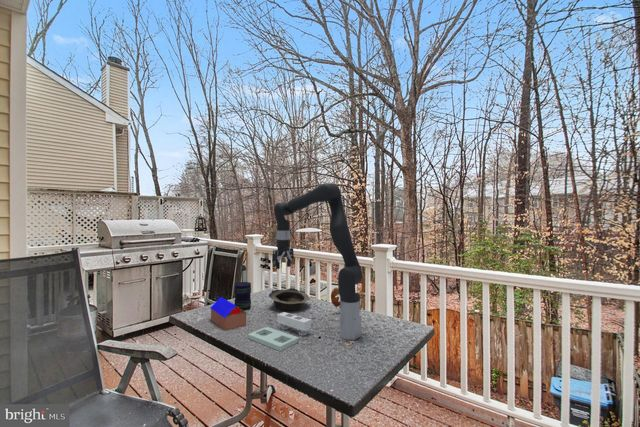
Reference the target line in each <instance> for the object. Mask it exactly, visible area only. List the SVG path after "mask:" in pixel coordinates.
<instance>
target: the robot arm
mask: <svg viewBox="0 0 640 427" xmlns="http://www.w3.org/2000/svg"><path fill="white" fill-rule="evenodd" d="M341 192H342V191H341V189H340V187H339V186H338V185H337V184H334V183H329V182H325V183H322V184H320V185H318V186H317V187H315V188H313V189H311V190H310V191H308V192H307V193H304V194H301V195H299V196H297V197H294V198H291V199H289V201H288V202H277V203H275V205H274V208H273V213H274V217H275V221H276V248H277V249H273V250H272V262H275V269H276V270H280V269H281V268H280V267H281V266H280V265H281V262H280V261H281V260H282V258H286V267H287V268H289V267H290V268H291V266H292V260H293V259H294V254H295V253H294V247H291V231H290V230H291V228H290V224H291V223H290V222H291V221H289V220H288V219H286V217H285V216H290V215H292V214H294V213H296V212H298V211H301V210H303V209H306V208H307V207H309V206H310V205H312V204H315V203H319V202H320V203H321V202H325V203H328V205H329V209H330V222H329V232H330V236H331V240H332V243H333V245H334V246H335V247H336V250H337V251H338V252H339V253H340V255H341V257H342V259H343V263H344V267H343V268H341V269H340V270H339V272H338V276H337V288H338V291H339V294H338V295H339V301H340V306H339V337H340V338H342V339H343V340H347V341H348V340H352V341H355V340H357V339H359V338H361V337H362V316H361V315H360V304H361V302H360V300H361V299H360V294H359V293H357V292H356V291H357V290H356V285H359V284H360V283H361V282H362V280H363V271H362V268H361V265H360V262H359V260H358V257H357V255H356V251H355V247H354V245H353V244H354V243H353V239H352V235H351V232H350V227H349V225H348V222H347V217H346V214H345V210H344V205H343V204H344V203H343V198H342V193H341Z"/></svg>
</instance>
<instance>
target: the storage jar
mask: <svg viewBox="0 0 640 427" xmlns="http://www.w3.org/2000/svg"><path fill="white" fill-rule="evenodd" d="M251 293H252V283H251V282H250V281H249V282H248V281H239V282H236V283H234V302H233V304H234V305H236V306H238V307H239V308H240V309H242V310H243V311H245V312H246V311H249V310H251V309H252V298H251Z"/></svg>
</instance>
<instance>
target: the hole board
mask: <svg viewBox="0 0 640 427" xmlns="http://www.w3.org/2000/svg"><path fill="white" fill-rule="evenodd" d="M264 334H265V335H264ZM247 339H249V341H254V342H255V343H257V344H261V345H263V346H266V347H268V348H271V349H274V350H275V351H279V352H282V351H283V350H285V349H288V348H289V347H292V346H293V345H296V344H297V343H299V342H300V340H299V339H300V337H298V336H295V335H293V334H290V333H287V332H283V331H281V330H278V329H275V328H272V327H270V326H269V327H268V326H266V327H263V328H262V327H261V328H260V329H258V330H255V331H252V332H251V333H248V334H247ZM281 341H284V342H281Z"/></svg>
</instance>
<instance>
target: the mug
mask: <svg viewBox="0 0 640 427" xmlns="http://www.w3.org/2000/svg"><path fill="white" fill-rule="evenodd" d="M338 295H339V291H338V287H334V288H333V289H332V291H331V293H330V300H331V303H332V305H333V306H334V307H335V308H338V307H340V300H339V301H338V300H337V298H336V296H338Z"/></svg>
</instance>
